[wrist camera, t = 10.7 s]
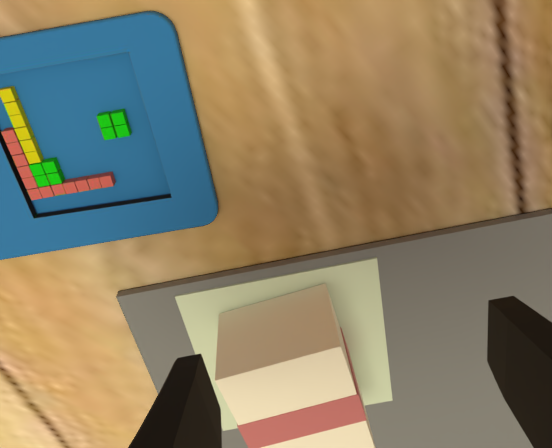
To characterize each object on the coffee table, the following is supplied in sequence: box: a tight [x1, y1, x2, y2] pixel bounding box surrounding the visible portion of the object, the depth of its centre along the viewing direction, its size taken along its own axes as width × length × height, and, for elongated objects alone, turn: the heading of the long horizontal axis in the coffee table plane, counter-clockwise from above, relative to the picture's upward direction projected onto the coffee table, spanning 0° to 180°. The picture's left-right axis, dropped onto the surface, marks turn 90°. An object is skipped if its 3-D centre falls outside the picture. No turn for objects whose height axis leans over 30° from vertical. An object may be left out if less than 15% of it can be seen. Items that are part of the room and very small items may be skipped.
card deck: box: [215, 283, 376, 448], centre depth 23 cm, size 7×5×4 cm
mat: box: [116, 209, 552, 448], centre depth 26 cm, size 20×16×1 cm
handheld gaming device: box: [0, 11, 218, 260], centre depth 19 cm, size 8×1×15 cm
